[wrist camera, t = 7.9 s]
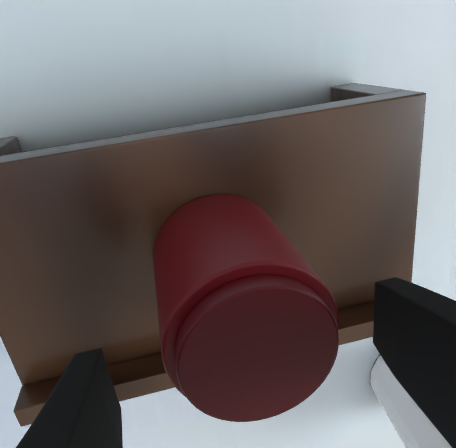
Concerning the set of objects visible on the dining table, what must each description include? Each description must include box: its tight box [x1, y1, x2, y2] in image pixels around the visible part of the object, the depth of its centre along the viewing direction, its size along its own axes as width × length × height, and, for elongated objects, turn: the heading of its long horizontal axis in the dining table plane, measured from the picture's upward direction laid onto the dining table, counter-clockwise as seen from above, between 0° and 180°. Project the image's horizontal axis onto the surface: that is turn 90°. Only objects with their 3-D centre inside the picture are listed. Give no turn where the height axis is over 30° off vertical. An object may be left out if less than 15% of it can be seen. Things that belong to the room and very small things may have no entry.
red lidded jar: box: [153, 194, 339, 422], centre depth 12 cm, size 5×5×6 cm
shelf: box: [0, 83, 426, 426], centre depth 16 cm, size 16×9×6 cm, turn 97°
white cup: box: [370, 355, 452, 448], centre depth 23 cm, size 7×7×7 cm
